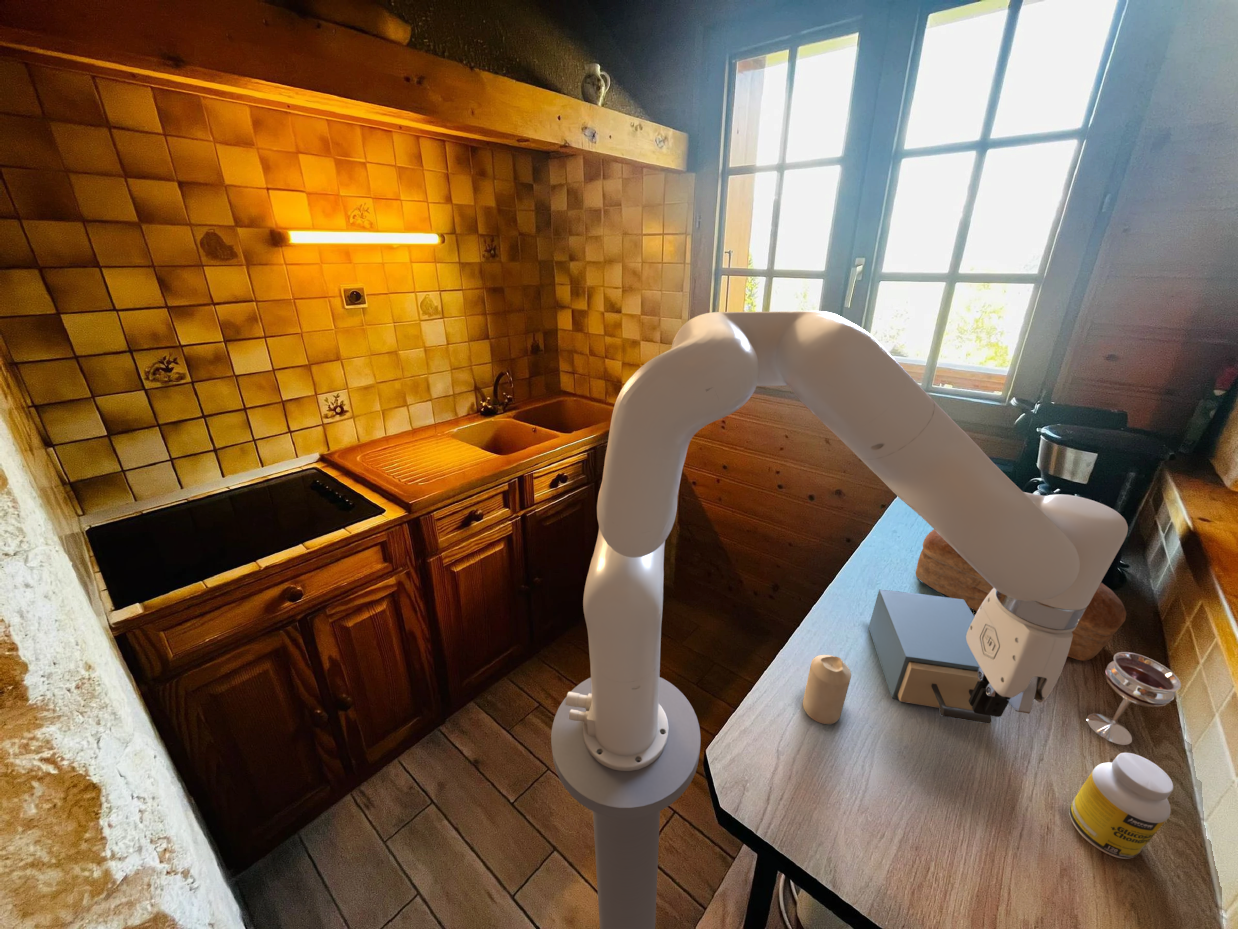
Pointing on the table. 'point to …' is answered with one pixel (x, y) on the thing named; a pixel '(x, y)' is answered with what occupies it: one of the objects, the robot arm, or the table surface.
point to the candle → (826, 688)
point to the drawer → (941, 690)
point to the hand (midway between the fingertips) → (984, 709)
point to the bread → (963, 582)
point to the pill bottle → (1122, 805)
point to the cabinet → (920, 633)
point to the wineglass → (1134, 691)
